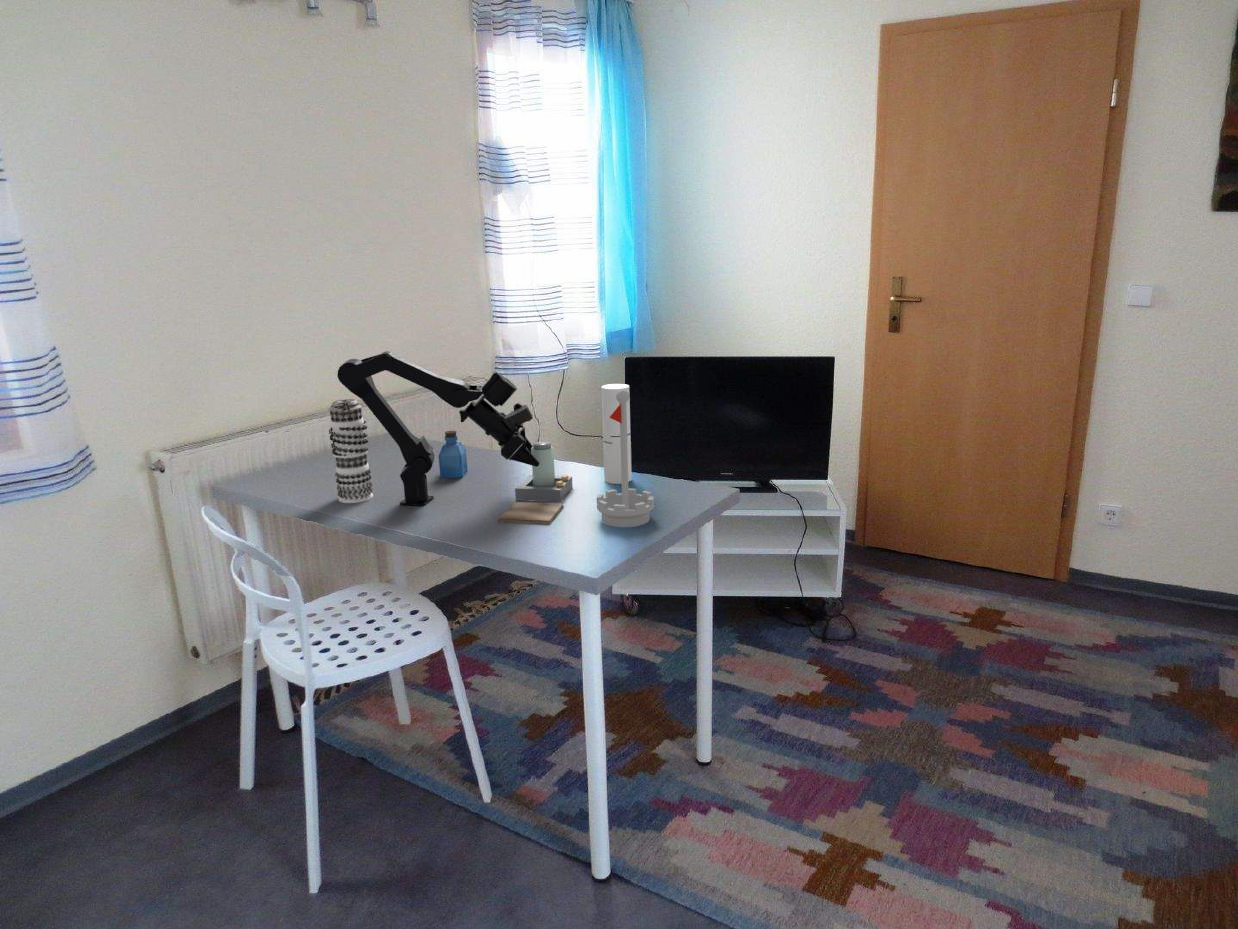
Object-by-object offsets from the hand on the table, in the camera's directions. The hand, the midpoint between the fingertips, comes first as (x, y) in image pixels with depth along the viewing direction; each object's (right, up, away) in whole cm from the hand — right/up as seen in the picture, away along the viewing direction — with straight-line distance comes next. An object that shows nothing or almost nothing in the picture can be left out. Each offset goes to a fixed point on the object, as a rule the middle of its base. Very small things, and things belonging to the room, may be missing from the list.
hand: (537, 460), depth 213 cm
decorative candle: (-46, -10, +4) cm, 47 cm away
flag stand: (+22, -14, -17) cm, 31 cm away
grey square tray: (+1, -8, +3) cm, 9 cm away
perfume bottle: (-25, -4, +22) cm, 34 cm away
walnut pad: (0, -13, -12) cm, 18 cm away
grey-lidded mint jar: (+1, -8, +3) cm, 9 cm away
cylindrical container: (+20, -5, +13) cm, 24 cm away
